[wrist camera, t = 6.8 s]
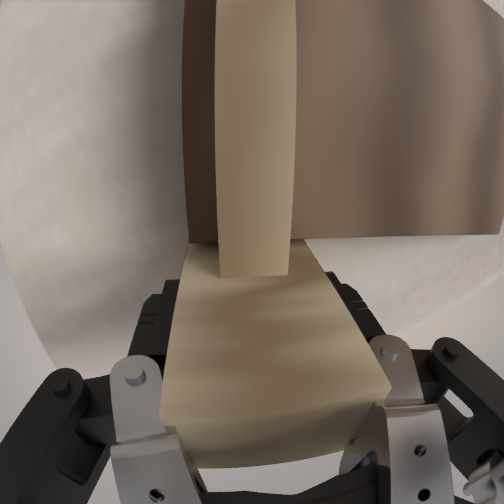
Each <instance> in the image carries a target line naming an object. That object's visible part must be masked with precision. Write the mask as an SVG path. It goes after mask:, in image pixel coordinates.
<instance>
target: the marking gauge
mask: <svg viewBox="0 0 504 504" xmlns="http://www.w3.org/2000/svg"><path fill="white" fill-rule="evenodd" d="M296 73H297V62H296V6H295V0H217V4H216V33H215V163H216V196H217V222H218V242H210V243H190V241H189V242H188V246H187V251H186V255H185V260H184V264H183V269H182V274H181V279H180V283H179V288H178V293H177V299H176V304H175V309H174V315H173V320H172V326H171V332H170V338H169V344H168V350H167V356H166V363H165V370H164V377H163V384H162V392H161V400H160V409H159V418H160V419H161V421H162V423H163V425H164V426H175V427H176V429H177V431H178V433H179V435H180V437H181V440H182V442H183V445H184V447H185V450H186V452H187V453H188V455H189V457H190V459H193V461H194V462H195V464H196V466H197V468H238V467H251V466H261V465H269V464H278V463H284V462H291V461H297V460H303V459H308V458H313V457H317V456H322V455H326V454H331V453H335V452H339V451H342V450H344V447H345V445H346V443H347V442H348V441H349V439H353V438H357V437H359V435H360V434H361V433H362V431H363V430H364V428H365V426H366V423H367V419H368V411H369V410H370V408H371V407H372V405H373V403H374V402H375V401H378V400H381V399H384V398H386V397H387V395H388V394H389V392H390V390H391V389H392V386H391V384H390V382H389V380H388V378H387V377H386V375H385V373H384V371H383V369H382V367H381V366H380V364H379V362H378V360H377V359H376V357H375V355H374V353H373V351H372V350H371V348H370V346H369V344H368V343H367V341H366V339H365V338H364V336H363V334H362V332H361V331H360V329H359V327H358V326H357V324H356V322H355V321H354V319H353V317H352V316H351V314H350V312H349V311H348V309H347V307H346V306H345V304H344V302H343V301H342V299H341V297H340V296H339V294H338V293H337V291H336V289H335V288H334V286H333V285H332V283H331V281H330V280H329V278H328V277H327V275H326V273H325V272H324V270H323V269H322V267H321V266H320V264H319V263H318V261H317V259H316V258H315V256H314V255H313V253H312V252H311V250H310V249H309V247H308V246H307V244H306V243H305V241H304V240H303V239H290V236H291V221H292V204H293V185H294V163H295V134H296Z"/></svg>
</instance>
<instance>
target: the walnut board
mask: <svg viewBox="0 0 504 504" xmlns="http://www.w3.org/2000/svg"><path fill="white" fill-rule="evenodd" d="M216 4H217V0H185V11H184V28H183V53H182V129H183V156H184V176H185V192H186V206H187V218H188V230H189V241H190V243H210V242H218V222H217V196H216V163H215V33H216ZM295 6H296V62H297V73H296V134H295V163H294V185H293V204H292V221H291V236H290V239H311V238H342V237H378V236H421V235H485V234H499V231H500V227H501V223H502V219H503V215H504V19H503V18H502V17H501V16H500V15H499V14H498V13H497V12H496V11H494V10H493V9H492V8H491V7H490V6H489V5H487V4H486V3H485V2H484V1H482V0H295Z"/></svg>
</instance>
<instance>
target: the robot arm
mask: <svg viewBox="0 0 504 504" xmlns="http://www.w3.org/2000/svg"><path fill="white" fill-rule="evenodd" d="M325 273H326V275H327V277H328V278H329V280H330V281H331V283H332V285H333V286H334V288H335V289H336V291H337V293H338V294H339V296H340V297H341V299H342V301H343V302H344V304H345V306H346V307H347V309H348V311H349V312H350V314H351V316H352V317H353V319H354V321H355V322H356V324H357V326H358V327H359V329H360V331H361V332H362V334H363V336H364V338H365V339H366V341H367V343H368V344H369V346H370V348H371V350H372V351H373V353H374V355H375V357H376V359H377V360H378V362H379V364H380V366H381V367H382V369H383V371H384V373H385V375H386V377H387V378H388V380H389V382H390V384H391V386H392V389H391V390H390V392H389V394H388V395H387V397H386V398H384V399H381V400H378V401H375V402H374V403H373V405H372V407H371V408H370V410H369V411H368V419H367V423H366V426H365V428H364V430H363V431H362V433H361V434H360V435H359V437H357V438H353V439H349V441H348V442H347V443H346V445H345V447H344V453H343V456H342V459H341V462H340V467H339V475H337V476H335V477H333V478H331V479H329V480H327V481H325V482H323V483H321V484H319V485H317V486H315V487H313V488H310V489H308V490H306V491H304V492H301V493H299V494H295V495H282V494H269V493H258V492H250V491H236V492H208V491H207V489H206V486H205V484H204V482H203V479H202V477H201V475H200V473H199V471H198V469H197V466H196V464H195V462H194V461H193V459H190V457H189V455H188V453H187V452H186V450H185V447H184V445H183V442H182V440H181V437H180V435H179V433H178V431H177V429H176V427H175V426H164V425H163V423H162V421H161V419H160V418H159V409H160V400H161V392H162V384H163V377H164V370H165V363H166V356H167V350H168V344H169V338H170V332H171V326H172V320H173V315H174V309H175V304H176V299H177V293H178V288H179V283H180V279H176V280H166V281H165V284H164V288H163V292H162V294H152V295H151V296H150V297H149V298H148V299H147V300H146V301H145V303H144V304H143V307H142V310H141V313H140V314H141V316H139V319H138V324H137V326H136V329H135V332H134V336H133V339H132V342H131V346H130V349H129V352H128V356H127V357H126V358H123V359H121V360H120V361H119V362H117V363H116V364H115V365H114V367H113V368H112V370H111V373H110V374H109V375H106V376H101V377H96V378H91V379H85V380H83V378H82V376H81V375H80V374H79V373H78V372H77V371H76V370H74V369H70V368H61V369H58V370H56V371H54V372H52V373H51V374H50V375H49V376H48V377H47V378H46V379H45V380H44V382H43V383H42V384H41V386H40V387H39V388H38V390H37V391H36V392H35V394H34V395H33V396H32V398H31V399H30V401H29V402H28V403H27V405H26V406H25V407H24V409H23V410H22V412H21V413H20V415H19V416H18V417H17V419H16V420H15V422H14V423H13V425H12V426H11V428H10V429H9V431H8V432H7V434H6V435H5V437H4V439H3V440H2V442H1V443H0V504H87V503H88V500H89V498H90V496H91V494H92V492H93V490H94V488H95V486H96V484H97V482H98V480H99V478H100V476H101V474H102V472H103V470H104V467H105V466H106V464H107V461H108V460H109V458H110V456H111V461H112V466H113V471H114V476H115V481H116V485H117V490H118V494H119V497H120V501H121V504H504V380H503V379H502V378H501V377H500V376H498V375H497V374H496V373H495V372H494V371H493V370H492V369H491V368H489V367H488V366H487V365H486V364H485V363H484V362H483V361H481V360H480V359H479V358H478V357H477V356H475V355H474V354H473V353H472V352H471V351H470V350H468V349H467V348H466V347H465V346H464V345H462V344H461V343H460V342H459V341H457V340H455V339H453V338H448V337H443V338H440V339H438V340H436V341H435V343H434V345H433V347H432V349H431V350H417V349H410V348H409V346H408V345H407V343H406V342H404V341H403V340H402V339H400V338H398V337H396V336H392V335H386V333H385V332H384V330H383V329H382V327H381V326H380V324H379V323H378V321H377V320H376V318H375V317H374V315H373V314H372V312H371V311H370V309H368V307H367V305H366V304H365V302H363V299H362V298H361V297H360V295H359V294H358V292H357V291H356V290H355V289H353V288H352V287H350V286H349V285H347V284H341V283H340V281H339V280H338V278H337V277H336V275H335V274H334V273H333V272H332V271H331V272H325ZM449 389H450V390H451V391H452V392H453V393H454V394H455V395H456V396H458V397H459V398H460V399H461V400H462V401H463V402H464V403H465V404H466V405H467V406H468V407H469V408H470V409H471V410H472V412H473V414H474V416H473V417H470V418H467V417H465V416H463V415H462V414H461V413H460V412H459V411H458V410H457V409H456V408H455V407H454V406H453V405H452V404H451V403H450V402H449V401H448V400H447V399H446V398H445V397H444V395H445V394H446V392H447V391H448V390H449ZM450 461H451V462H452V463H453V464H454V466H455V467H456V468H457V469H458V470H459V471H460V472H461V473H462V474H463V475H464V476H465V478H466V479H467V480H468V481H469V482H467V483H466V484H465V485H464V488H463V493H464V494H465V495H467V496H470V495H473V497H474V502H475V503H472V502H469V501H467V500H464V499H462V498H459V497H457V496H454V491H453V481H452V472H451V464H450Z"/></svg>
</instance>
